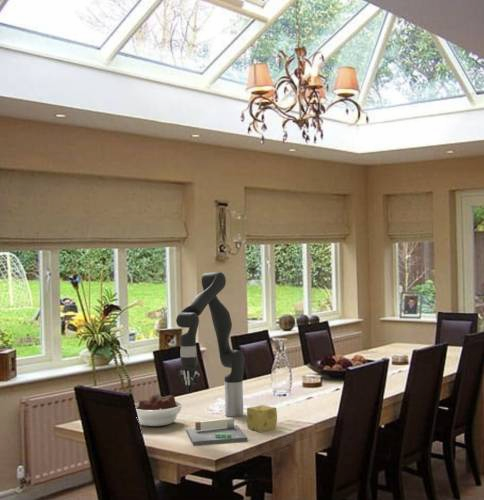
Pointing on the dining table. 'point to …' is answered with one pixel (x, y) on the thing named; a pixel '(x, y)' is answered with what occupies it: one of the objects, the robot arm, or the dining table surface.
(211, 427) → the beige wooden bar
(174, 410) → the bowl of brownies
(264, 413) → the cheese
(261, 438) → the dining table surface
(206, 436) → the grey square slab
